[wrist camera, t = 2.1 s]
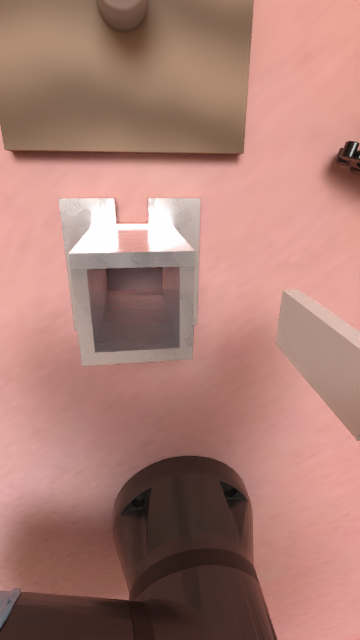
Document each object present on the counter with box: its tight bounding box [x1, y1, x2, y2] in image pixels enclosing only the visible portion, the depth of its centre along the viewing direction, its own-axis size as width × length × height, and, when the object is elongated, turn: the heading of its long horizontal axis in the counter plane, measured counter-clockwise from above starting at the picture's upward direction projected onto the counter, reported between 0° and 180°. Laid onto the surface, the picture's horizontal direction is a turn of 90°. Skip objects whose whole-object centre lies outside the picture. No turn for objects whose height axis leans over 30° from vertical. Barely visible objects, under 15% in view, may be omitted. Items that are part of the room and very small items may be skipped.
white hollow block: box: [59, 197, 200, 366], centre depth 22 cm, size 10×10×11 cm
